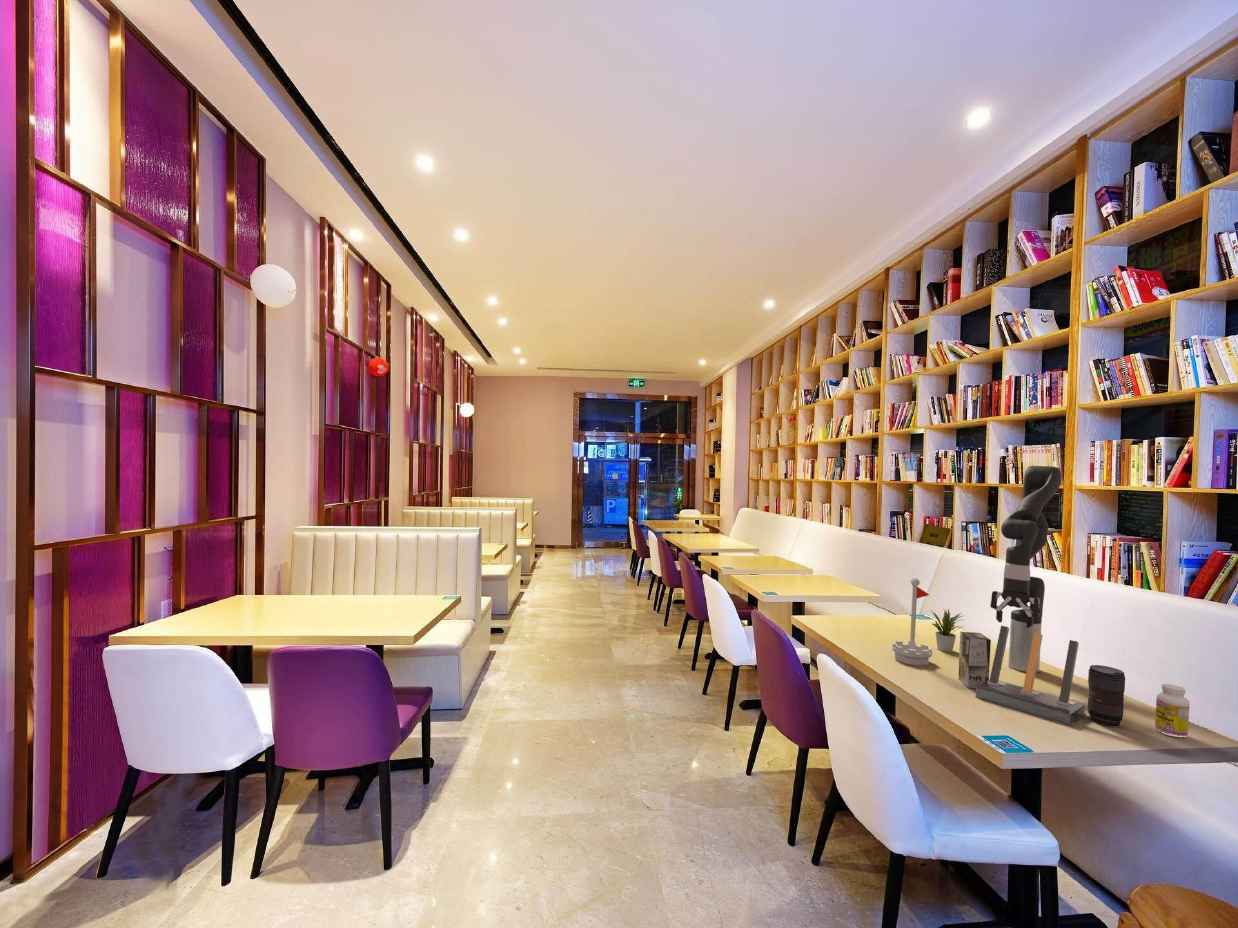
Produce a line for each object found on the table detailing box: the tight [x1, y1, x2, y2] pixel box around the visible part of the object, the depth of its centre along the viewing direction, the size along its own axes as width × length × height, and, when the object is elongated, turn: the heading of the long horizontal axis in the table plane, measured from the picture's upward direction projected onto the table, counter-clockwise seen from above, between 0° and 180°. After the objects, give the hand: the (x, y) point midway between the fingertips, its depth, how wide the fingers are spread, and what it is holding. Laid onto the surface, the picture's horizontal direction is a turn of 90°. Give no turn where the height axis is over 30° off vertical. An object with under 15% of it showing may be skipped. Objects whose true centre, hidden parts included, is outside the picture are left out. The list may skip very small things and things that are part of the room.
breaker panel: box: [975, 680, 1086, 726], centre depth 181 cm, size 14×24×4 cm, turn 39°
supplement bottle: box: [1154, 683, 1190, 737], centre depth 165 cm, size 7×7×13 cm
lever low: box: [987, 625, 1010, 688], centre depth 189 cm, size 2×3×19 cm, turn 40°
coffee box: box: [958, 631, 992, 690], centre depth 197 cm, size 9×6×16 cm
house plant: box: [929, 608, 964, 653], centre depth 236 cm, size 14×14×16 cm
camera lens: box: [1087, 664, 1126, 728], centre depth 171 cm, size 8×8×15 cm
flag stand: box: [891, 577, 933, 666], centre depth 221 cm, size 13×13×30 cm
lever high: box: [1057, 639, 1079, 708], centre depth 175 cm, size 2×3×19 cm, turn 40°
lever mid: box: [1021, 633, 1044, 697], centre depth 182 cm, size 2×3×19 cm, turn 40°
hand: (1013, 624), depth 208 cm, fingers open, 8 cm apart
